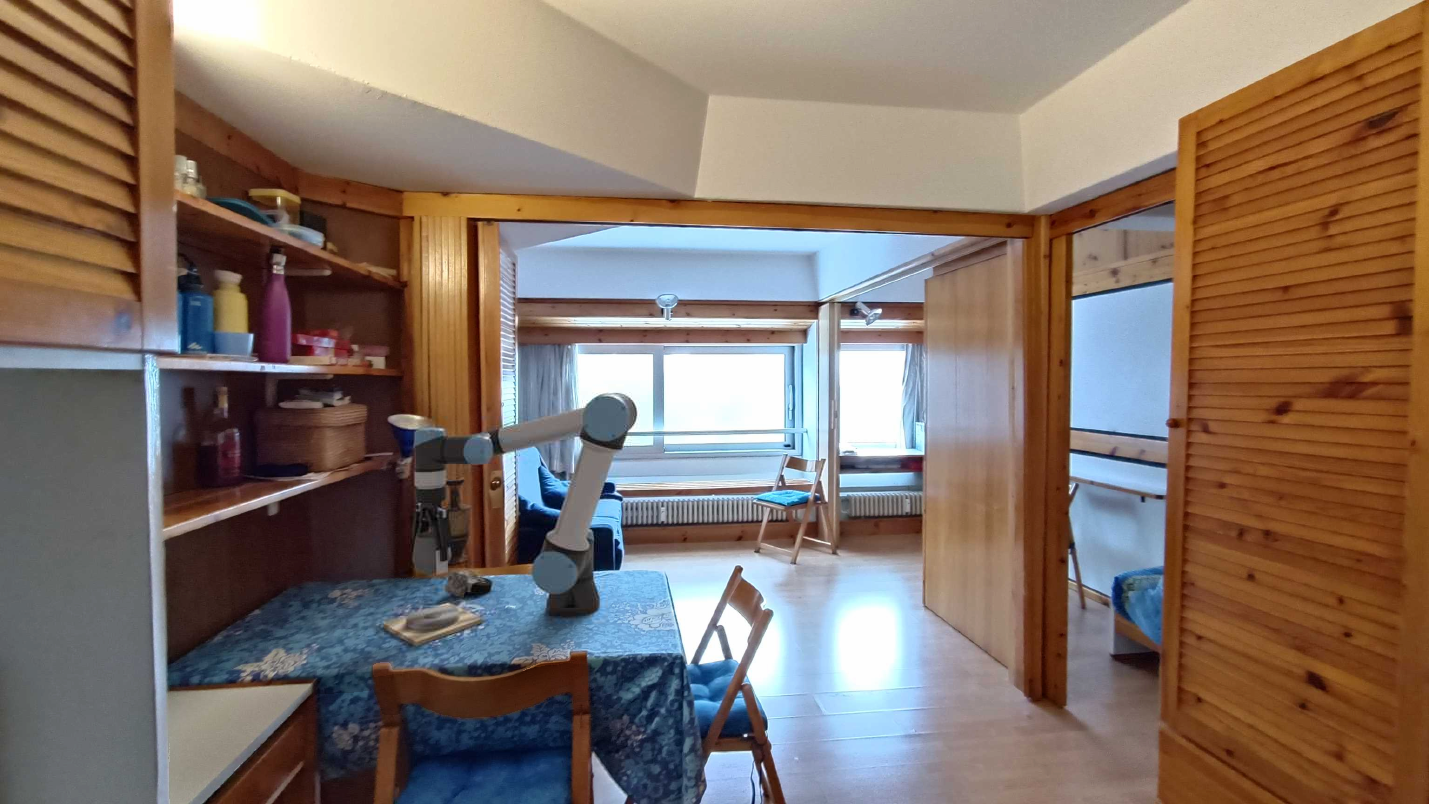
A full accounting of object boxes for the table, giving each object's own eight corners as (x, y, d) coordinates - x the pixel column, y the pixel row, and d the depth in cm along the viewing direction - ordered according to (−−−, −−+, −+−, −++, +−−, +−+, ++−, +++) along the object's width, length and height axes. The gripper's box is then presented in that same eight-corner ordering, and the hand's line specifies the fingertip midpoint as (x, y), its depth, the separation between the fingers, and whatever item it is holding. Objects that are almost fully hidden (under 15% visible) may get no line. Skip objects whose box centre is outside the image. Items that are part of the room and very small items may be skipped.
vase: (442, 557, 219) (440, 476, 218) (473, 555, 222) (472, 475, 220) (436, 566, 208) (434, 481, 207) (469, 564, 211) (467, 480, 210)
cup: (411, 579, 153) (410, 540, 152) (413, 568, 161) (412, 532, 161) (451, 574, 157) (450, 537, 156) (451, 564, 165) (451, 528, 165)
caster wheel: (494, 596, 188) (474, 603, 178) (464, 585, 190) (443, 592, 181) (499, 575, 188) (480, 581, 178) (469, 565, 191) (449, 570, 181)
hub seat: (482, 622, 161) (482, 613, 161) (416, 646, 147) (415, 636, 147) (447, 606, 172) (447, 597, 172) (382, 627, 158) (382, 617, 158)
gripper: (466, 488, 154) (467, 573, 155) (423, 479, 168) (425, 558, 169) (438, 493, 148) (440, 581, 149) (396, 483, 162) (398, 564, 163)
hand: (432, 569), depth 159 cm, fingers closed on cup, 9 cm apart
